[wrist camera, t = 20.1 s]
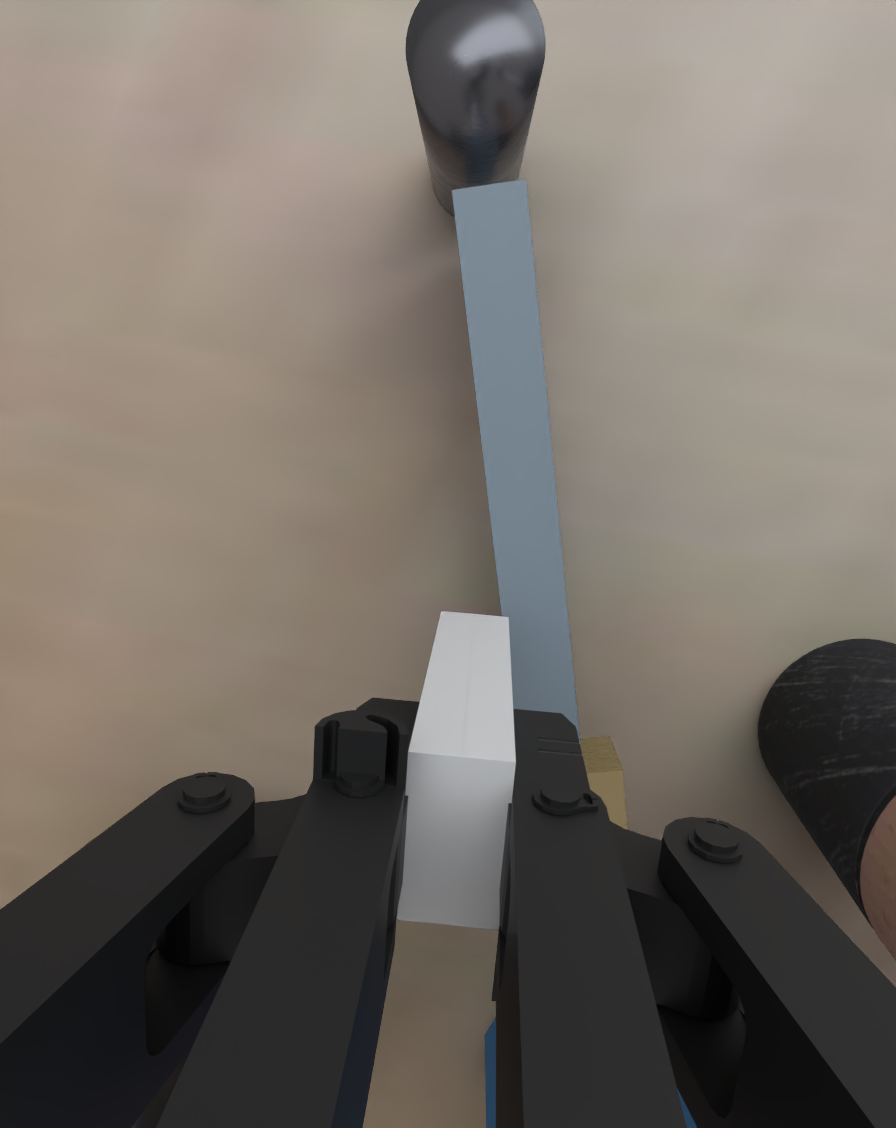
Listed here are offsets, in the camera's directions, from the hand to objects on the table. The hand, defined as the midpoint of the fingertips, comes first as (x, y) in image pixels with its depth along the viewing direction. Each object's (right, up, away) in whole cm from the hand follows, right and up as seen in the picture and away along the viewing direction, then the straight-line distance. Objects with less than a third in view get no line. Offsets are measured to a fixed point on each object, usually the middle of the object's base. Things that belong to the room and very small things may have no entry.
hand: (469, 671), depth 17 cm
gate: (+2, +5, +10) cm, 11 cm away
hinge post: (0, +15, +8) cm, 17 cm away
